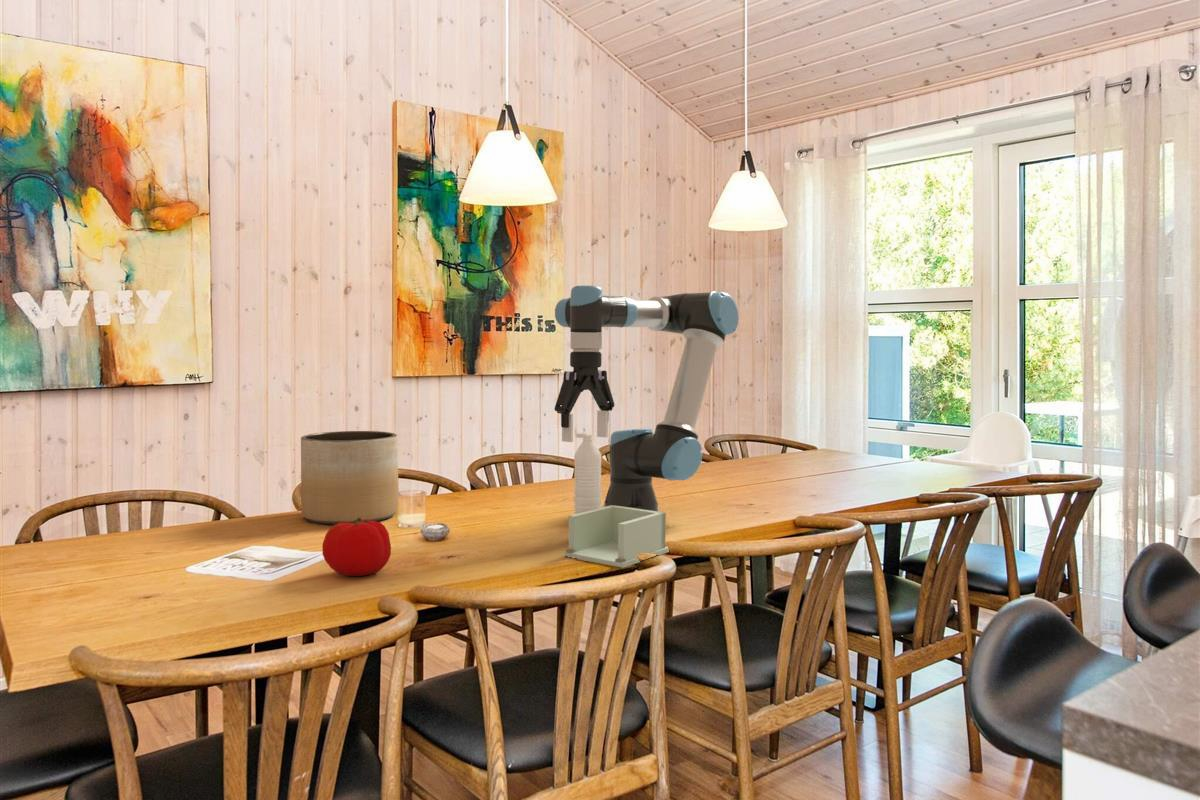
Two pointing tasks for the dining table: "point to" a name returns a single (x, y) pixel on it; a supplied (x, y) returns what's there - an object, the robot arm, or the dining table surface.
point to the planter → (349, 476)
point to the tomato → (357, 547)
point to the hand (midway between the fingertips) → (585, 439)
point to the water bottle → (587, 475)
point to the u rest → (616, 535)
